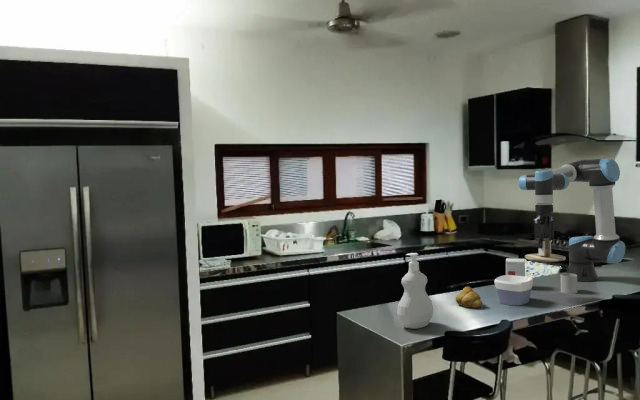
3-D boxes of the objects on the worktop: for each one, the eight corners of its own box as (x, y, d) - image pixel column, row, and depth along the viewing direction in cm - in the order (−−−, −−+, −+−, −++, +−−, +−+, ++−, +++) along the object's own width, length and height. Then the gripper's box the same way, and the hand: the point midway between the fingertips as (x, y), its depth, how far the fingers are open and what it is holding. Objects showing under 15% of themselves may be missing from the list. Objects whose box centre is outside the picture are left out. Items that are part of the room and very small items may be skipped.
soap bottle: (419, 318, 206) (417, 249, 205) (441, 324, 197) (438, 252, 196) (390, 327, 197) (388, 254, 195) (411, 334, 187) (409, 257, 186)
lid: (539, 254, 236) (538, 236, 236) (573, 258, 222) (573, 239, 222) (517, 258, 227) (516, 239, 227) (551, 262, 213) (551, 242, 213)
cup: (557, 293, 238) (557, 274, 238) (568, 289, 244) (568, 271, 244) (572, 295, 232) (572, 277, 232) (583, 292, 238) (583, 273, 238)
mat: (548, 292, 240) (548, 291, 240) (593, 300, 222) (593, 299, 222) (525, 298, 231) (525, 297, 231) (570, 308, 212) (570, 306, 212)
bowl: (505, 296, 236) (504, 273, 235) (537, 301, 225) (537, 277, 224) (490, 303, 225) (489, 279, 224) (523, 309, 214) (523, 283, 213)
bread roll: (487, 308, 218) (486, 290, 217) (468, 311, 215) (468, 293, 214) (469, 301, 230) (469, 284, 230) (451, 304, 227) (451, 287, 226)
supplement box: (506, 290, 248) (505, 261, 247) (506, 286, 256) (505, 258, 256) (525, 291, 245) (524, 261, 244) (525, 287, 253) (524, 258, 252)
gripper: (547, 202, 231) (548, 251, 232) (525, 204, 222) (526, 256, 223) (562, 203, 225) (563, 253, 226) (540, 205, 216) (541, 257, 217)
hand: (544, 254), depth 225 cm, fingers closed on lid, 4 cm apart
